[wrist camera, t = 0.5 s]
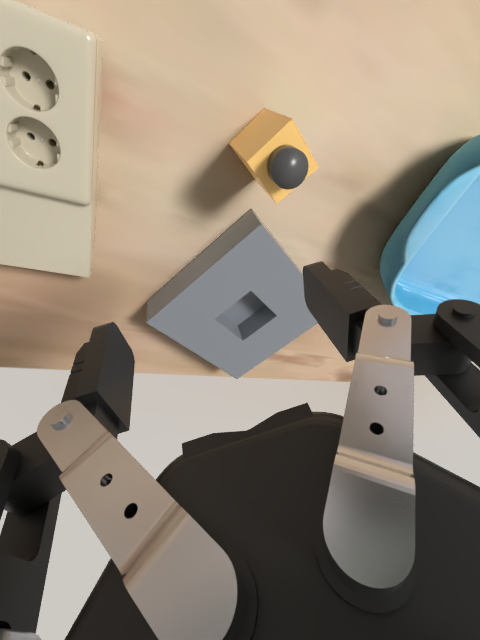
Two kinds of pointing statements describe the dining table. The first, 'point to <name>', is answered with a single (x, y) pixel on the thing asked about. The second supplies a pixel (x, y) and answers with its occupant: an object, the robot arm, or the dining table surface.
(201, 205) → the dining table surface
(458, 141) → the dining table surface
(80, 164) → the electrical outlet
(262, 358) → the socket
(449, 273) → the casserole dish
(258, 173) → the plug
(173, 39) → the dining table surface
